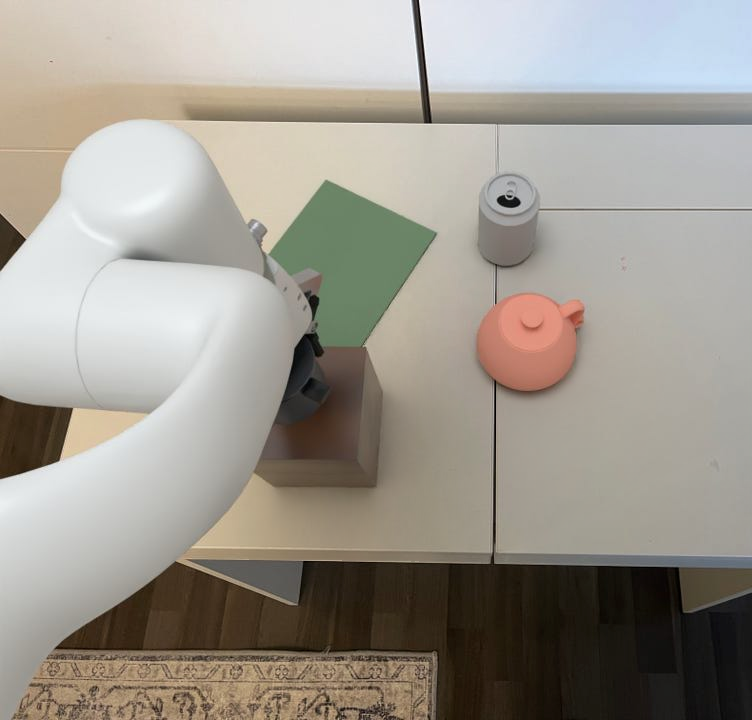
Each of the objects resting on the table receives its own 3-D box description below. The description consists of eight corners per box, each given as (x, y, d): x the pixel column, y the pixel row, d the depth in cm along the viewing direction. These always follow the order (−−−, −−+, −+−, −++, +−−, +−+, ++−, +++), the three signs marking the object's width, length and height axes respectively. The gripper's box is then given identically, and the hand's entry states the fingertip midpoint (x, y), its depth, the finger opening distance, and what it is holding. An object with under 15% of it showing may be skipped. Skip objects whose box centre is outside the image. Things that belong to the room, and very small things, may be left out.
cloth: (322, 405, 80) (322, 404, 80) (203, 340, 83) (202, 338, 83) (436, 234, 90) (436, 232, 89) (326, 181, 93) (325, 179, 92)
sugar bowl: (460, 330, 84) (459, 292, 75) (557, 289, 87) (568, 248, 77) (502, 413, 80) (507, 384, 71) (602, 368, 83) (619, 334, 73)
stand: (376, 487, 77) (357, 460, 64) (273, 486, 77) (233, 458, 64) (382, 390, 81) (366, 346, 68) (285, 389, 81) (250, 345, 68)
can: (473, 264, 88) (473, 212, 77) (482, 217, 91) (484, 161, 80) (528, 273, 88) (537, 222, 76) (536, 225, 90) (545, 170, 79)
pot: (314, 449, 59) (297, 428, 53) (218, 396, 61) (191, 370, 55) (358, 381, 62) (346, 354, 56) (264, 332, 63) (244, 301, 57)
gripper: (247, 172, 47) (304, 292, 63) (80, 368, 41) (191, 445, 57) (335, 214, 46) (370, 325, 62) (176, 423, 40) (261, 486, 56)
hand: (284, 382), depth 60 cm, fingers closed on pot, 7 cm apart
